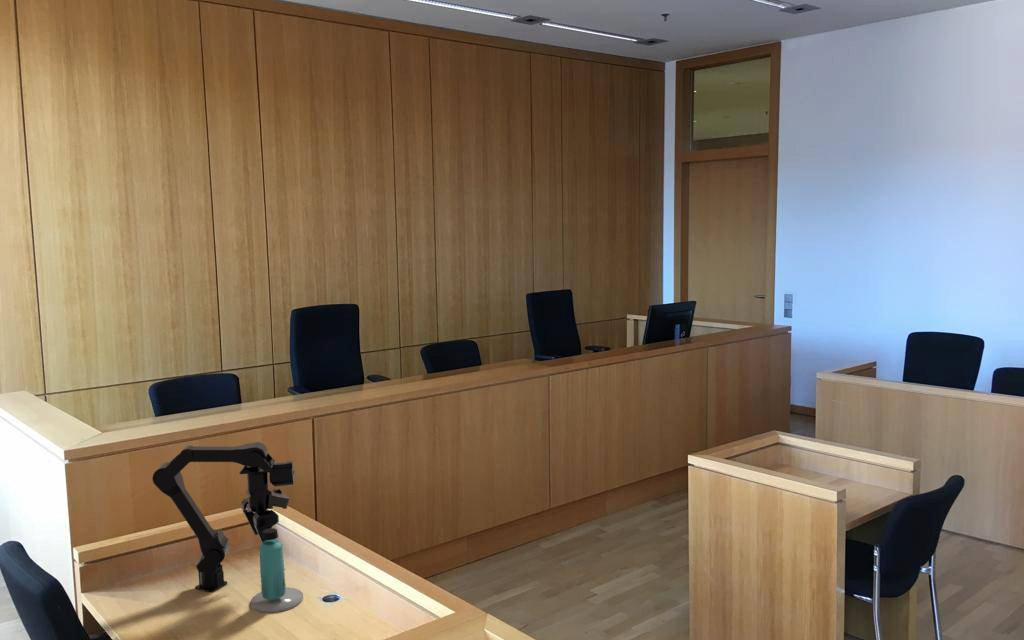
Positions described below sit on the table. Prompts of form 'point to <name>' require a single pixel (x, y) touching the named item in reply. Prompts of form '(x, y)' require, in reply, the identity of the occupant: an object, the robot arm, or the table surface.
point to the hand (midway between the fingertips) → (260, 539)
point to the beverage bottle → (272, 565)
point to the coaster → (277, 601)
